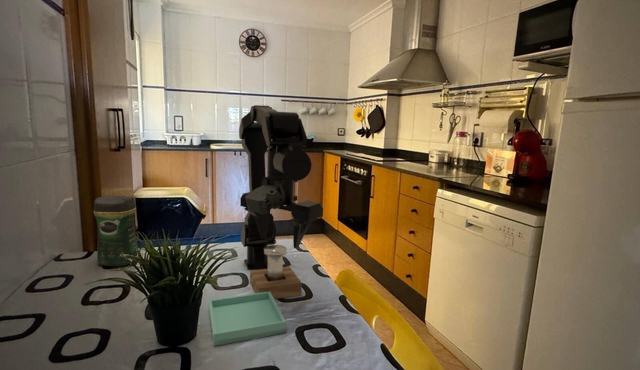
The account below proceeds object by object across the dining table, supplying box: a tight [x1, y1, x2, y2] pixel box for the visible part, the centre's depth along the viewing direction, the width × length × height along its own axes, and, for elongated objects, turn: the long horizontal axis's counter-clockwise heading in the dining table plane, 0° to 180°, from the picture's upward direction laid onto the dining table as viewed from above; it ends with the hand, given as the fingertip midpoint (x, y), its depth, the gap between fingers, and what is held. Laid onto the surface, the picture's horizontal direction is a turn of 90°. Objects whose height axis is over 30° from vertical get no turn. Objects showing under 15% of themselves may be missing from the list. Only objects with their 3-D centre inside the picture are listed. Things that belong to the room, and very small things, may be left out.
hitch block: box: [249, 266, 302, 300], centre depth 83 cm, size 10×10×3 cm
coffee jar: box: [93, 195, 139, 267], centre depth 95 cm, size 10×8×19 cm
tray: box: [207, 291, 287, 347], centre depth 69 cm, size 13×13×2 cm
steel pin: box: [264, 244, 287, 282], centre depth 82 cm, size 5×5×10 cm
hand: (279, 242), depth 76 cm, fingers open, 9 cm apart
